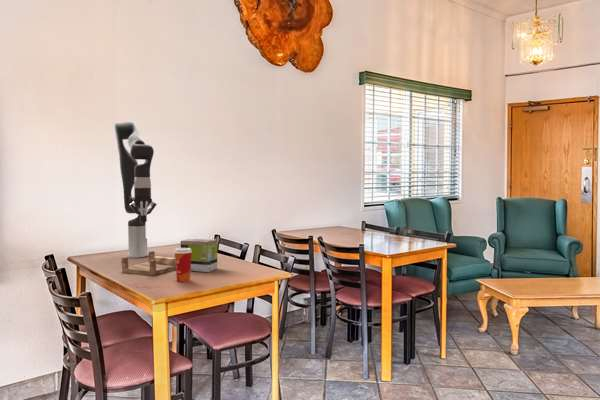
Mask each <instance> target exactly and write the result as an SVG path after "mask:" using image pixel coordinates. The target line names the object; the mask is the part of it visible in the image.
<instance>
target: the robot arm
mask: <svg viewBox="0 0 600 400" xmlns="http://www.w3.org/2000/svg"><path fill="white" fill-rule="evenodd" d="M113 130H114V137H115V141H116V145H117V152H118V162H119V169H120V175H121V176H120V177H121V182H122V187H123V188H122V190H123V203H124V210H125V212H126V213H127V214H135V215H137V217H135V218H133V219H130V220H128V222H127V234H128V258H132V259H133V258H136V259H137V258H143V257H146V256H148V238H147V237H146V236H147V233H146V232H147V231H146V230H147V227H146V226H147V225H146V223H147V221H148V218H147V216H148V215H150V214H151V213H152V212H153V211H154V209H155V207H156V206H157V203H156V202H154V201H153V200H152V184H151V183H152V182H151V166H152V162H153V161H152V160H153V157H154V152H155V151H154V148H153V146H152V145H150V144H146V143H145V141H144V140H143V138H142V137H141V133H140V131H139V129H138V125H137V124H136V122H134V121H133V120H127V121H117V122H115V123H114V124H113ZM124 140H127V144H128V147H129V149H130V151H129V150H128V148H127V147H126V146H125V143H124ZM138 160H140V161H141V160H144V162H143V163H141V164H139V163H138ZM132 190H134V191H133V193H134V196H132ZM149 206H150V207H149Z"/></svg>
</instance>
